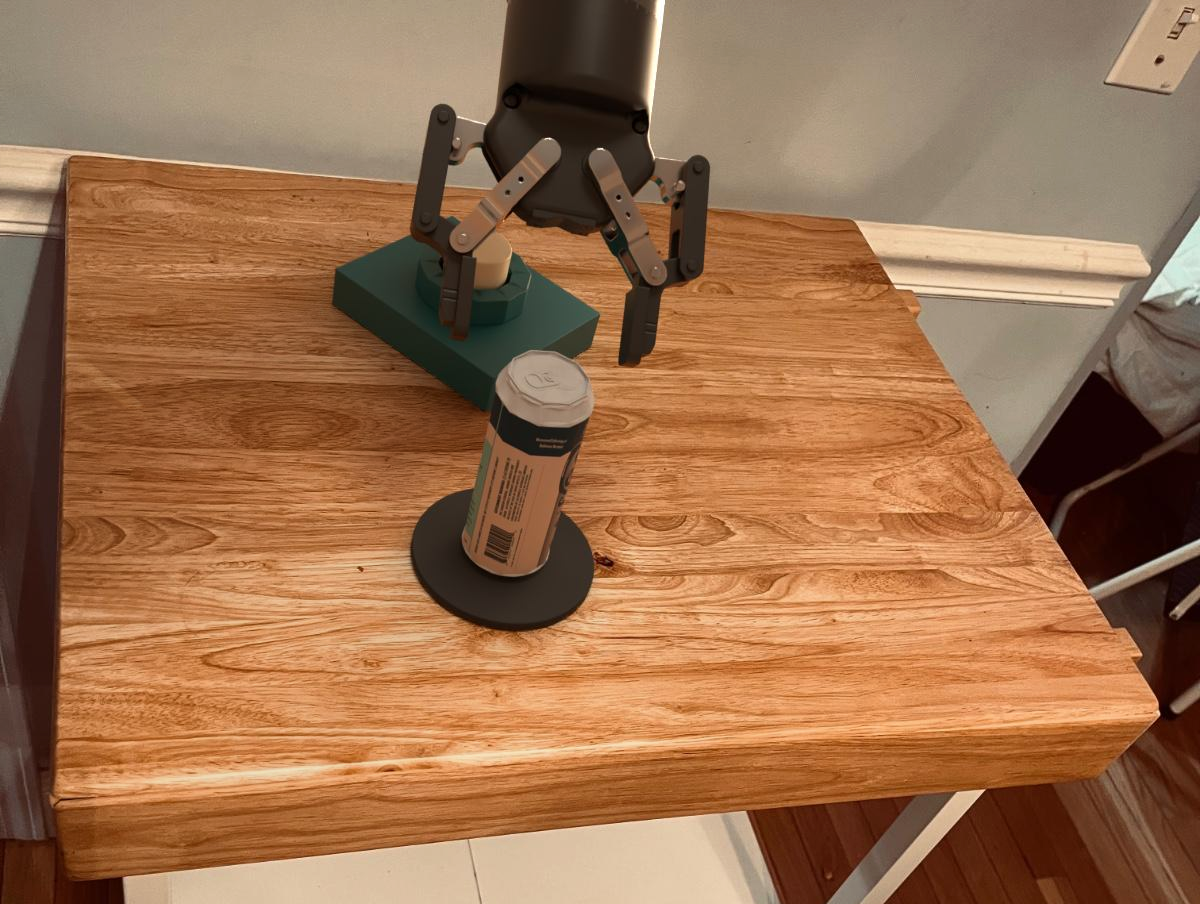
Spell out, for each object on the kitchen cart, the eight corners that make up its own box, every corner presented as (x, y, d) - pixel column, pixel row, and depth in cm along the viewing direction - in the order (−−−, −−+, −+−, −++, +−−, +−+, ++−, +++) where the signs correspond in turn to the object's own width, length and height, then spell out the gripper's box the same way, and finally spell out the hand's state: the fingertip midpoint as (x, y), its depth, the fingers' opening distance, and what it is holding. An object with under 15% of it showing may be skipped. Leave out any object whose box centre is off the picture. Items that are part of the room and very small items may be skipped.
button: (429, 266, 74) (434, 238, 72) (471, 246, 76) (476, 218, 75) (478, 299, 73) (483, 271, 71) (518, 278, 75) (525, 250, 74)
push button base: (331, 304, 76) (337, 243, 72) (446, 249, 83) (455, 191, 79) (485, 412, 72) (498, 354, 69) (591, 346, 79) (607, 290, 76)
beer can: (562, 571, 64) (617, 401, 56) (484, 592, 62) (528, 418, 53) (522, 510, 67) (569, 338, 58) (445, 527, 64) (482, 351, 56)
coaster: (371, 551, 63) (372, 543, 62) (492, 469, 69) (494, 461, 69) (515, 662, 60) (517, 655, 60) (627, 566, 67) (629, 559, 66)
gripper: (444, -53, 52) (403, 318, 53) (749, 16, 55) (706, 365, 56) (431, 15, 59) (395, 340, 60) (701, 73, 63) (663, 381, 63)
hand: (545, 352), depth 58 cm, fingers open, 8 cm apart
